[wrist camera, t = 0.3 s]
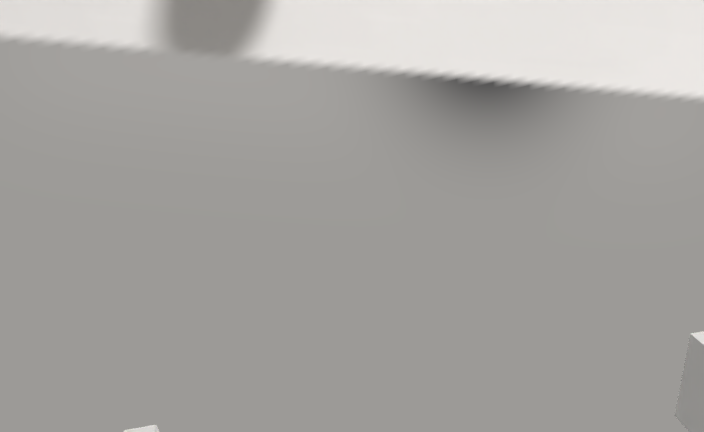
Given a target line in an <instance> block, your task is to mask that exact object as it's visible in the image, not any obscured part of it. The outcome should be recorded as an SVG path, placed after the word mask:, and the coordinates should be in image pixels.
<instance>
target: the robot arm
mask: <svg viewBox="0 0 704 432" xmlns="http://www.w3.org/2000/svg"><path fill="white" fill-rule="evenodd" d="M675 417H677V419H678V420H679V421H680V422H681V424H682V425H683V426H684V427H685V428H686V429H687V430H688V431H689V432H704V331H703V332H697V333H691V334H690V338H689V343H688V349H687V354H686V360H685V364H684V370H683V375H682V380H681V385H680V391H679V396H678V401H677V407H676V412H675ZM124 432H159V430H158V428H157V426H156V425H152V426H146V427H140V428H134V429H128V430H124Z"/></svg>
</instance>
